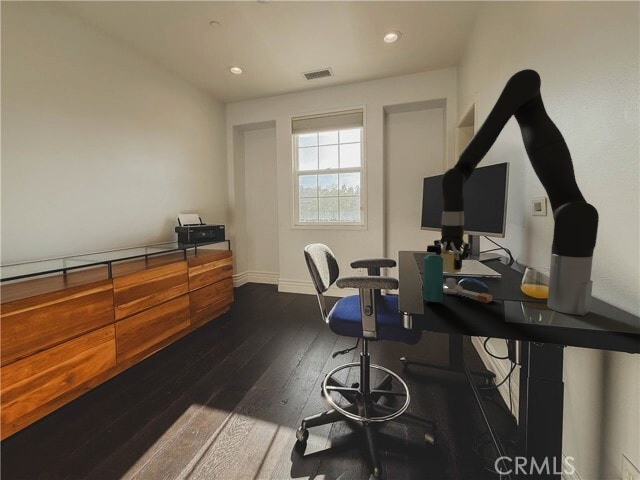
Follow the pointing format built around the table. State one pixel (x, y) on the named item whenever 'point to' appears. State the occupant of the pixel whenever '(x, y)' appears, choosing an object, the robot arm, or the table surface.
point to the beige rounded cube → (449, 262)
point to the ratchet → (464, 291)
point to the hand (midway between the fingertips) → (450, 268)
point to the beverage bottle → (433, 275)
